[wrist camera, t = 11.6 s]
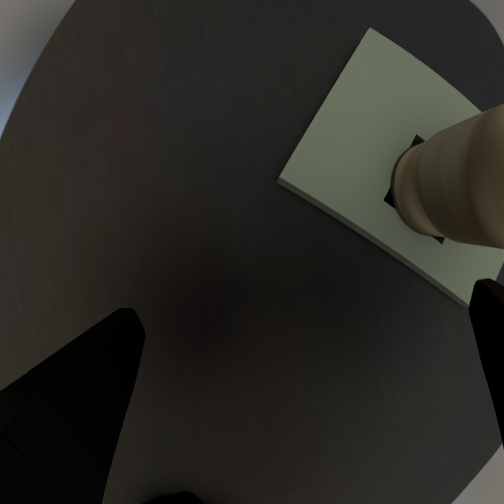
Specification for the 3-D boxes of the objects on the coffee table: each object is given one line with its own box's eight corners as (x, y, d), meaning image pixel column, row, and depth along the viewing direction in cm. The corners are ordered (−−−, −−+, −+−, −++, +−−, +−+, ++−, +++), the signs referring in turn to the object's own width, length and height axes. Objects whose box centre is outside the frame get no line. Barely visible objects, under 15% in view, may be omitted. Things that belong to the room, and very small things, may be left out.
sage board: (459, 304, 20) (479, 312, 18) (276, 181, 19) (279, 176, 17) (515, 173, 19) (534, 170, 17) (358, 44, 18) (369, 27, 16)
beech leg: (452, 228, 20) (636, 246, 5) (381, 244, 20) (578, 291, 5) (436, 146, 19) (610, 86, 4) (364, 154, 19) (539, 59, 4)
